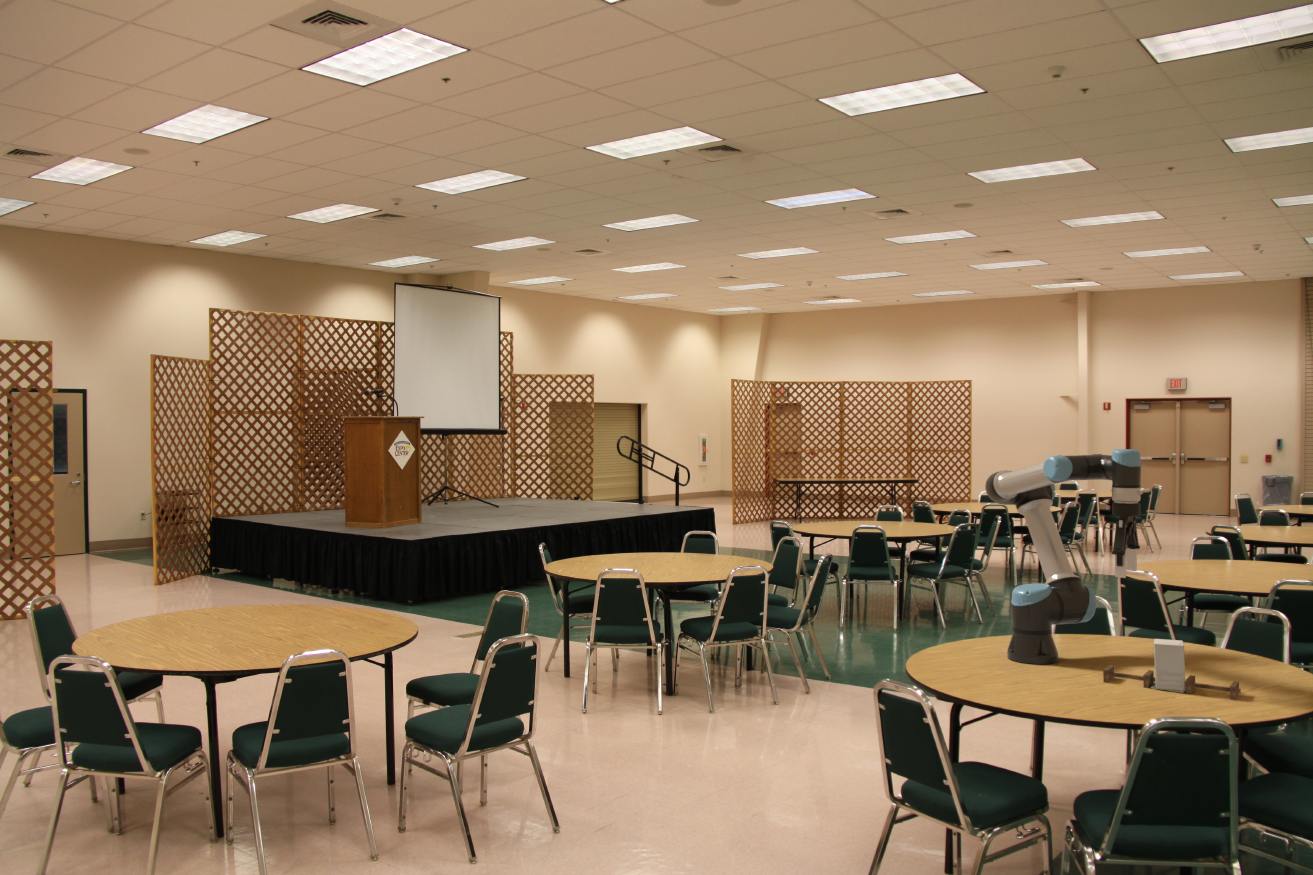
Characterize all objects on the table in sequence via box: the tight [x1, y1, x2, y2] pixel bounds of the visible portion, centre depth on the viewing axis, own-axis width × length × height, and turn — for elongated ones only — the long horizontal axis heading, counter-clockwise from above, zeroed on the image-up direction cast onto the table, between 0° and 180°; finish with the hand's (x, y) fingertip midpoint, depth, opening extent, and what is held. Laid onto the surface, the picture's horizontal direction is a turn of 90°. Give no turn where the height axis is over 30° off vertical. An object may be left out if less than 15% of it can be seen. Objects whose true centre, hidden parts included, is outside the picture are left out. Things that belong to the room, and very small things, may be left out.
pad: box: [1150, 682, 1186, 694], centre depth 259 cm, size 8×6×1 cm
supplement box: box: [1153, 638, 1186, 692], centre depth 259 cm, size 7×7×13 cm
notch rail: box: [1102, 664, 1242, 701], centre depth 260 cm, size 32×10×4 cm, turn 51°
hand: (1126, 573), depth 273 cm, fingers open, 13 cm apart
